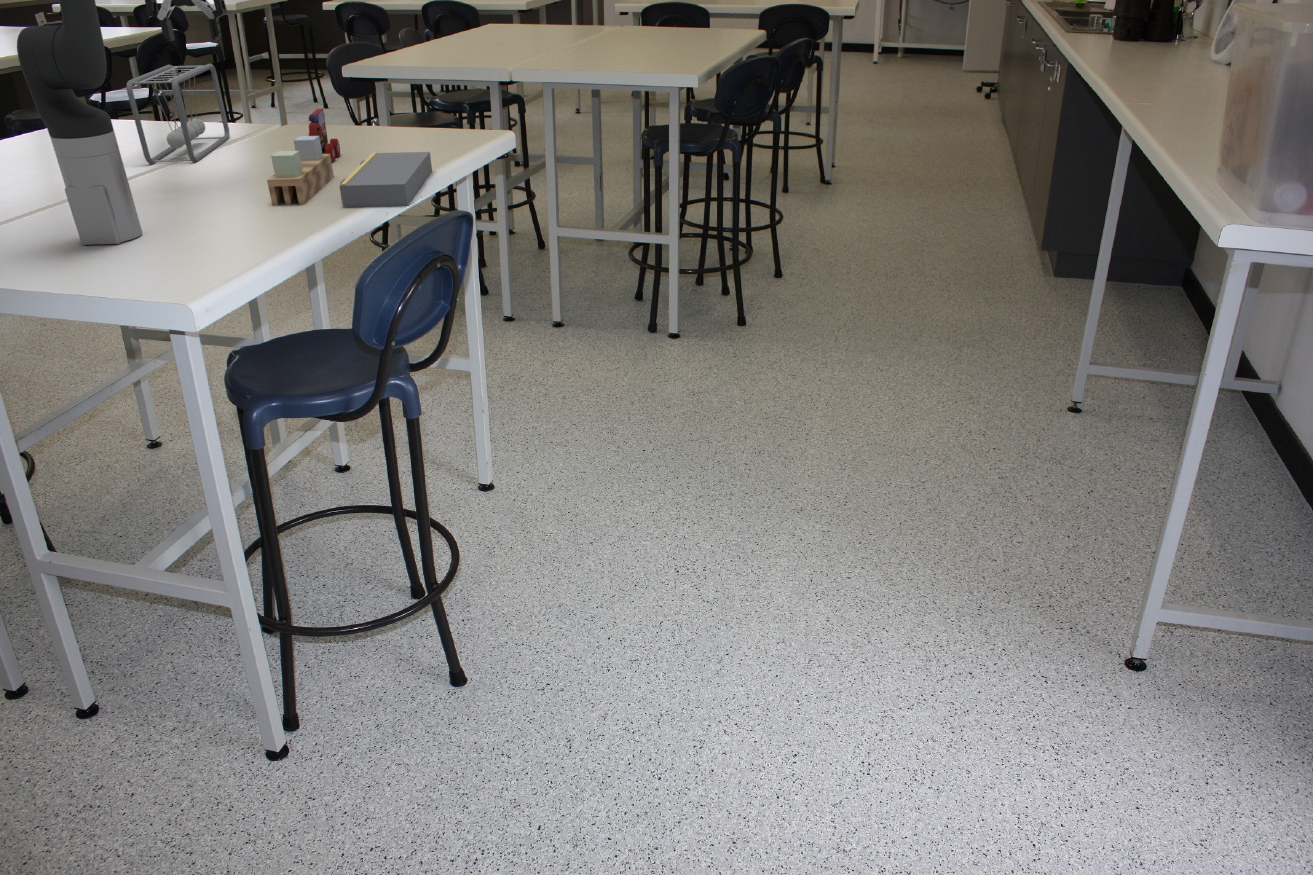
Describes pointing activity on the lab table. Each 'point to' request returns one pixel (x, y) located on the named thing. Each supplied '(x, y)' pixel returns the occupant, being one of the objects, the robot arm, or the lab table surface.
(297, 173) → the block
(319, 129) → the toy fire truck
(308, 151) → the block
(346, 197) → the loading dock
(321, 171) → the tan wooden bar
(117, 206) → the robot arm
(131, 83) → the newton's cradle
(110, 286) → the lab table surface
